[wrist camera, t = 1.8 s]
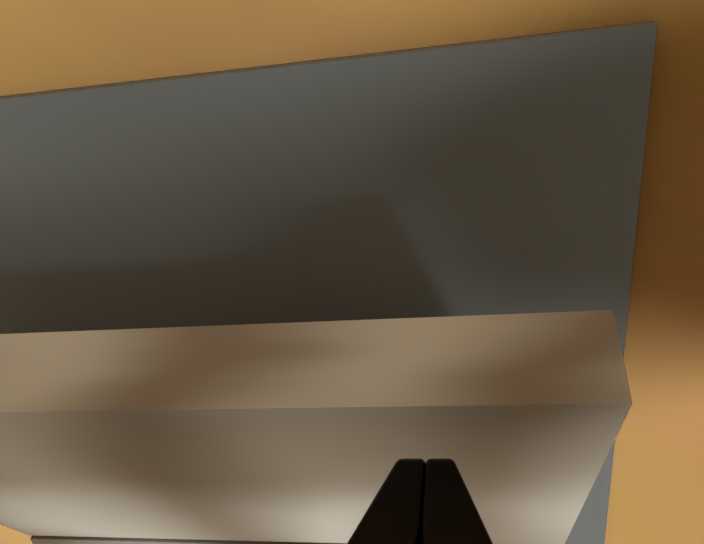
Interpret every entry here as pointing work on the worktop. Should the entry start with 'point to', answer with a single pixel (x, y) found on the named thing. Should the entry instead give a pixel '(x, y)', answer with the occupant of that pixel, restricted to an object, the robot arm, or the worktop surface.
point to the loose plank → (305, 424)
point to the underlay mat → (335, 192)
